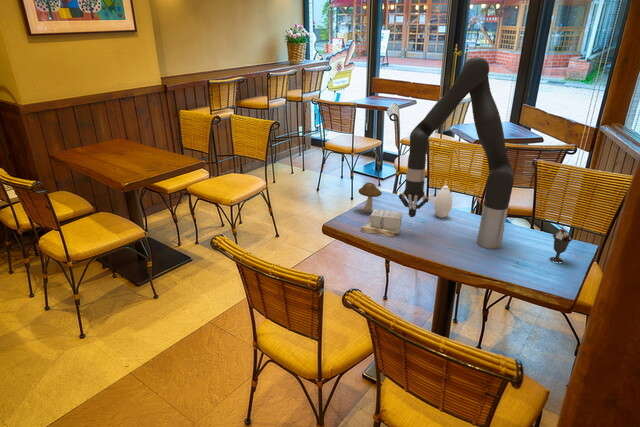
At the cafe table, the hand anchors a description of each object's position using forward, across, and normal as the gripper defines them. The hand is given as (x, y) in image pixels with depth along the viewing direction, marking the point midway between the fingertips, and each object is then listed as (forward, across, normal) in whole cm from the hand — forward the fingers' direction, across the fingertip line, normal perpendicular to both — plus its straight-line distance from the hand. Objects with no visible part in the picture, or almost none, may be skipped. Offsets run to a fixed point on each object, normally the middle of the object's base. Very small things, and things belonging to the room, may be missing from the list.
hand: (411, 216), depth 183 cm
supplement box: (+4, +4, 0) cm, 6 cm away
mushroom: (+8, +23, -14) cm, 28 cm away
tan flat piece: (+8, +13, 0) cm, 15 cm away
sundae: (+9, -57, 0) cm, 58 cm away
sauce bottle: (+8, -10, -24) cm, 27 cm away
